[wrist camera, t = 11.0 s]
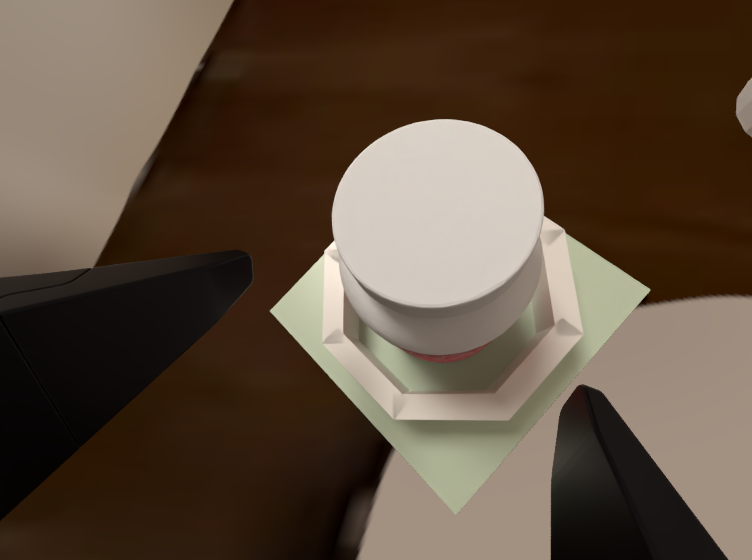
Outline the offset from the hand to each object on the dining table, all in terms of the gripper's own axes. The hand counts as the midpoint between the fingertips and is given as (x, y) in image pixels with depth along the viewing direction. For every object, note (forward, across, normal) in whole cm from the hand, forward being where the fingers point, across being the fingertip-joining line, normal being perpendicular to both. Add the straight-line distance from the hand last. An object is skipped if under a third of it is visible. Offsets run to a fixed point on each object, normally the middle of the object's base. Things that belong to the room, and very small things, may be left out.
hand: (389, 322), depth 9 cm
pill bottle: (+8, 0, +5) cm, 10 cm away
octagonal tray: (+9, 0, +5) cm, 10 cm away
